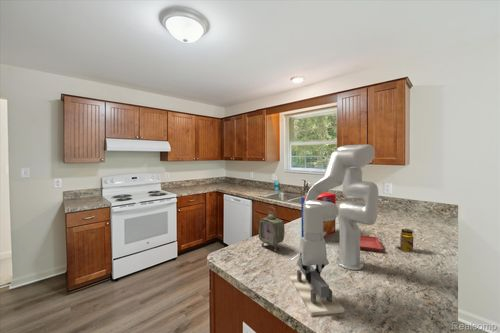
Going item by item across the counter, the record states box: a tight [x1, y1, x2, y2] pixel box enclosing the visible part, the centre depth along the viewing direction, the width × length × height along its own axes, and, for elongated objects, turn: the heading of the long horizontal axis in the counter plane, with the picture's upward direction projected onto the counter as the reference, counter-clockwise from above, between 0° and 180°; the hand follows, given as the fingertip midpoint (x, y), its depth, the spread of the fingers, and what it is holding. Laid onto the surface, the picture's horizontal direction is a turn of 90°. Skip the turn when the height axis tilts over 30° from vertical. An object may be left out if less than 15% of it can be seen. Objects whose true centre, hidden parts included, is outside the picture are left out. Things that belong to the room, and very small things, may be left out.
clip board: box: [288, 269, 345, 317], centre depth 85 cm, size 24×12×5 cm, turn 8°
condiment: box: [395, 228, 416, 255], centre depth 123 cm, size 7×8×12 cm
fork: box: [290, 253, 299, 261], centre depth 120 cm, size 3×20×2 cm, turn 135°
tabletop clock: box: [257, 206, 285, 252], centre depth 129 cm, size 14×9×25 cm, turn 40°
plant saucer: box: [360, 234, 384, 253], centre depth 131 cm, size 18×18×3 cm
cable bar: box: [299, 263, 330, 298], centre depth 85 cm, size 20×3×4 cm, turn 8°
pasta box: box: [300, 192, 337, 238], centre depth 148 cm, size 28×8×28 cm, turn 128°
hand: (312, 280), depth 85 cm, fingers closed on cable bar, 3 cm apart
